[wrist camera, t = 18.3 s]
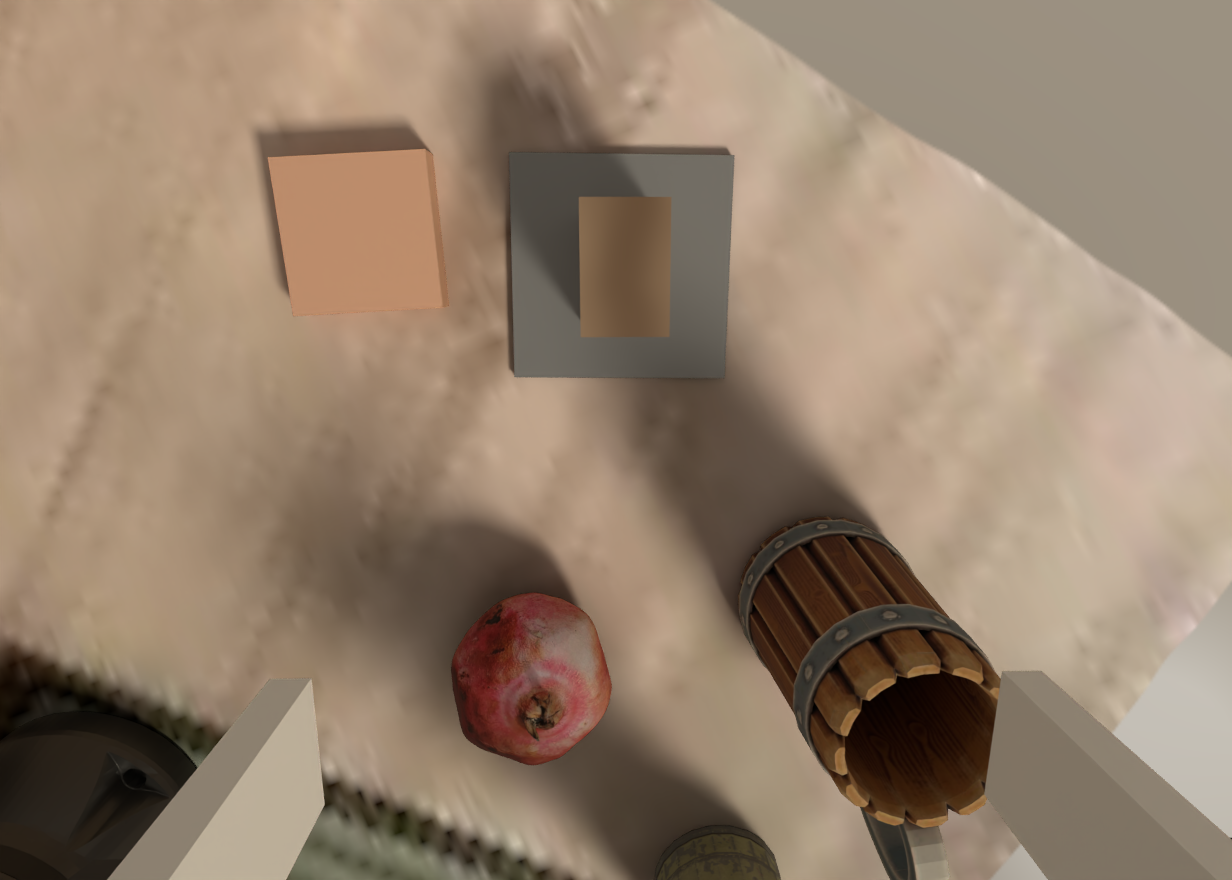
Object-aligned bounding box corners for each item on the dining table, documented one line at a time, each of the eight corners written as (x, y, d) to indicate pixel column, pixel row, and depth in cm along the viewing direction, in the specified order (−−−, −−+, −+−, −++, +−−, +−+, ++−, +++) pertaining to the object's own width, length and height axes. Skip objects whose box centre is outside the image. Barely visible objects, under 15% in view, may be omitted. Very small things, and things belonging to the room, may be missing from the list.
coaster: (515, 375, 40) (514, 377, 40) (510, 153, 38) (509, 152, 37) (722, 376, 41) (724, 378, 40) (732, 156, 38) (734, 155, 37)
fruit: (470, 712, 45) (435, 831, 36) (460, 575, 43) (420, 663, 33) (611, 707, 46) (615, 824, 36) (608, 571, 43) (611, 656, 34)
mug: (725, 525, 43) (791, 655, 28) (896, 499, 43) (1052, 615, 28) (752, 745, 46) (823, 961, 32) (910, 722, 46) (1054, 927, 32)
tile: (293, 316, 38) (267, 157, 36) (308, 313, 40) (285, 163, 38) (442, 307, 38) (424, 148, 36) (450, 305, 40) (434, 155, 38)
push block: (584, 324, 39) (580, 337, 32) (582, 213, 38) (578, 196, 30) (655, 324, 39) (669, 336, 32) (656, 212, 38) (671, 196, 30)
